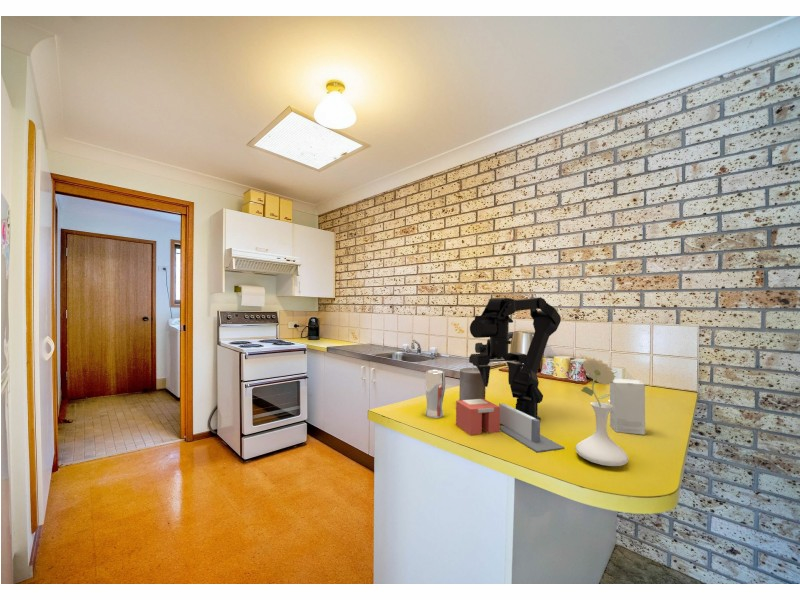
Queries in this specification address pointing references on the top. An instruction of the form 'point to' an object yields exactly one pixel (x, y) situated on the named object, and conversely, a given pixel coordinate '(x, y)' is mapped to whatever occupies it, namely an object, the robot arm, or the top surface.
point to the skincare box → (627, 406)
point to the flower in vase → (600, 421)
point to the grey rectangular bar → (520, 422)
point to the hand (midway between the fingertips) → (498, 385)
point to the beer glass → (434, 392)
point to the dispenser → (477, 416)
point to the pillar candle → (471, 384)
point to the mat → (541, 446)
